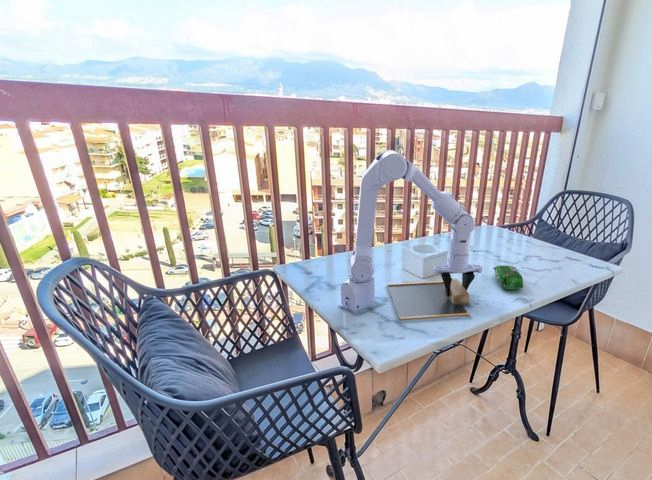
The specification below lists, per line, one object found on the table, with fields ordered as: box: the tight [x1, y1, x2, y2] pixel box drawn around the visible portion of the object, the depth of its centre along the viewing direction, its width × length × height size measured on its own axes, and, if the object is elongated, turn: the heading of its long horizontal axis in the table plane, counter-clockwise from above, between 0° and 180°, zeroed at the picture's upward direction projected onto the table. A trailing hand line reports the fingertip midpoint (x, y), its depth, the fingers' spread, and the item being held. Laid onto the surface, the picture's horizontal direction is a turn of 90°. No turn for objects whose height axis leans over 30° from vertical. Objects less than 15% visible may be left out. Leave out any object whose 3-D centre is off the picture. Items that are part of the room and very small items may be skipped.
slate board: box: [387, 280, 471, 321], centre depth 122 cm, size 20×25×1 cm
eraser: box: [443, 278, 470, 306], centre depth 122 cm, size 4×12×4 cm, turn 10°
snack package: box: [493, 265, 524, 290], centre depth 134 cm, size 7×16×5 cm, turn 2°
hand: (455, 294), depth 123 cm, fingers closed on eraser, 4 cm apart
